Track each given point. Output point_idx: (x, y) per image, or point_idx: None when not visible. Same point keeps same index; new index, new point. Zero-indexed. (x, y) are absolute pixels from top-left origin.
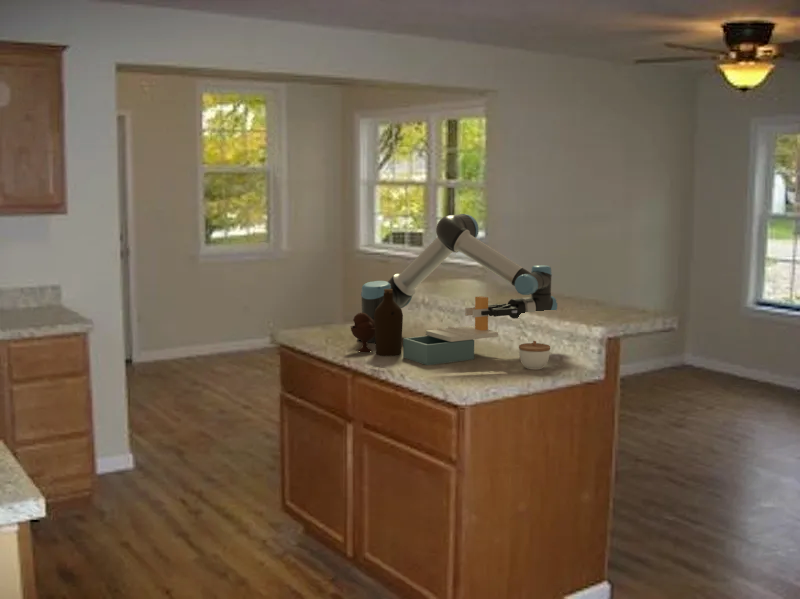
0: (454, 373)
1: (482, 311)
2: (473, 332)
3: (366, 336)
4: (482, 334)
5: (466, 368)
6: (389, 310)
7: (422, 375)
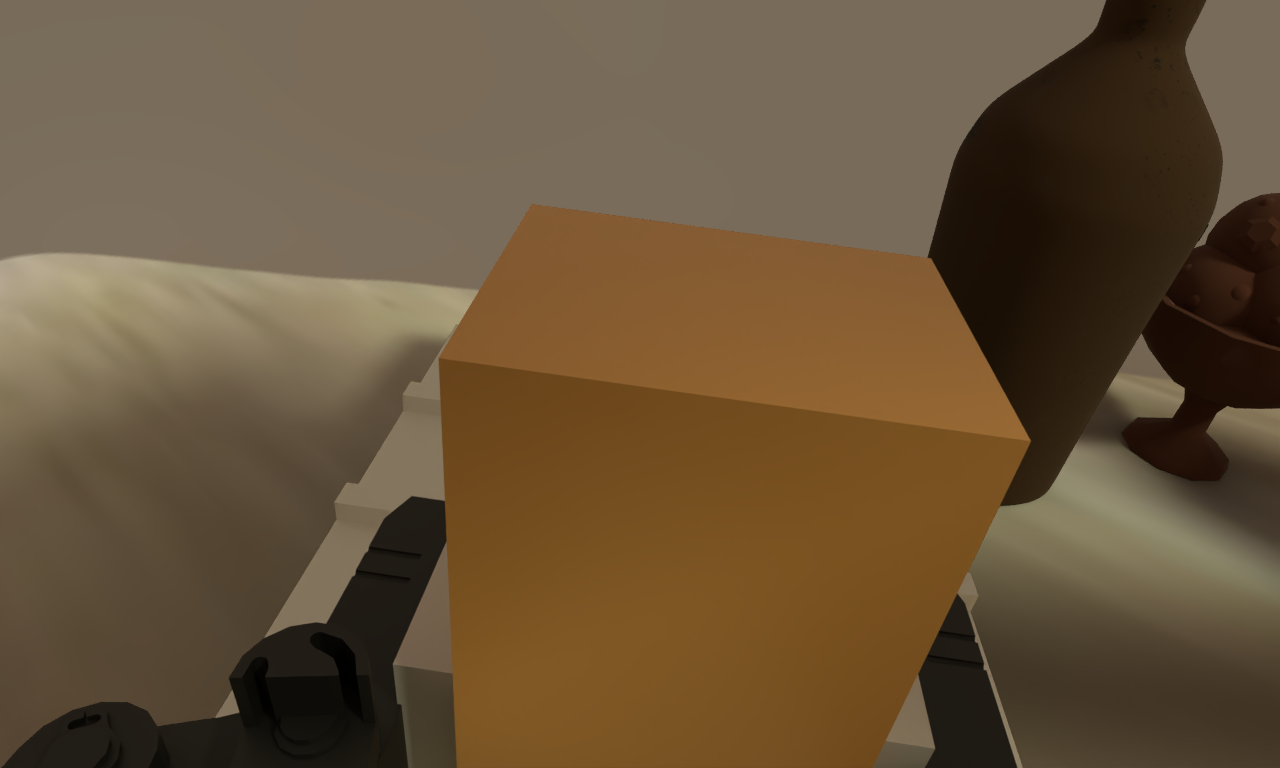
0: (270, 400)
1: (426, 498)
2: (385, 508)
3: (1142, 333)
4: (284, 613)
5: (281, 519)
6: (991, 103)
7: (399, 311)
